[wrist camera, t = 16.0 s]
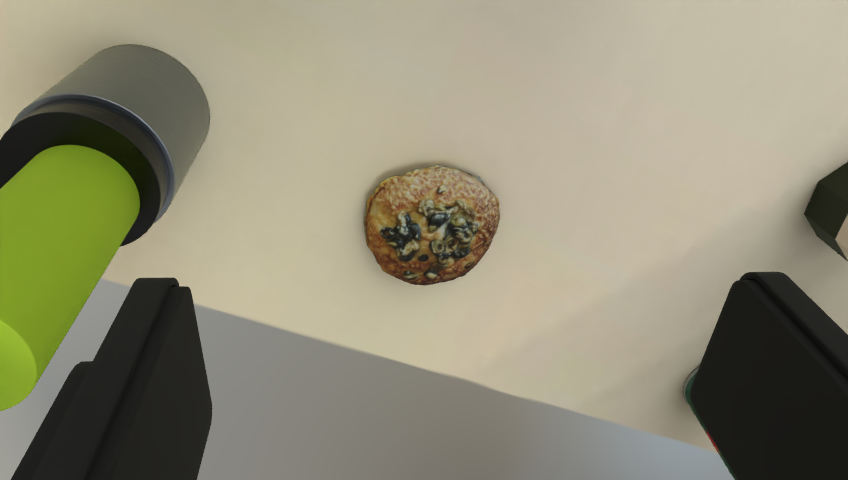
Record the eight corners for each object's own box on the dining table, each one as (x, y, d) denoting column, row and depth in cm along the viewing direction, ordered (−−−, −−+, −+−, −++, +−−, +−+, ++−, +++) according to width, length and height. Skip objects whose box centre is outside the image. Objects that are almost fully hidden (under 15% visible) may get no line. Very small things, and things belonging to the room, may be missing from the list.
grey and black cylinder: (60, 42, 40) (-38, 104, 30) (200, 46, 41) (150, 108, 31) (92, 165, 45) (16, 255, 35) (217, 166, 46) (178, 254, 36)
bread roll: (421, 298, 54) (423, 328, 50) (336, 209, 50) (329, 234, 46) (522, 223, 52) (534, 249, 47) (441, 124, 48) (445, 141, 43)
